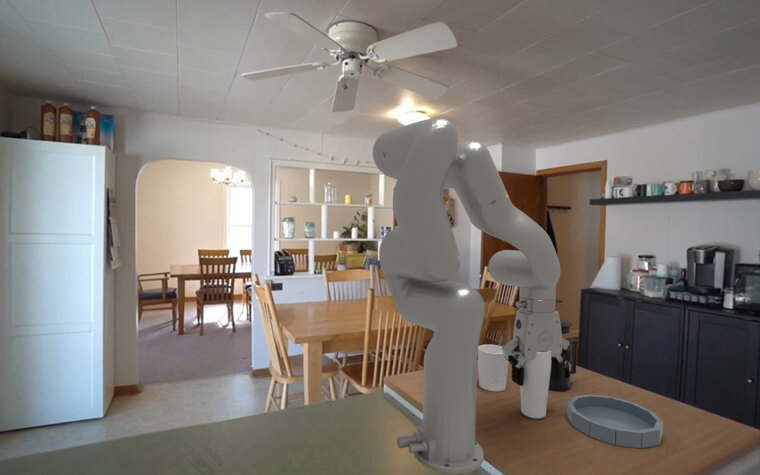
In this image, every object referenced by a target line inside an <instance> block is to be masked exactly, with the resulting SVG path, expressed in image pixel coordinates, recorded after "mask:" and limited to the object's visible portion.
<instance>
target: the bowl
mask: <svg viewBox="0 0 760 475" xmlns="http://www.w3.org/2000/svg"><path fill="white" fill-rule="evenodd" d="M566 404H567V406H566V408H567V409H566V417H567V419H568V421H569V422H570V424H571V426H572V427H574V429H577V430H578V431H580V433H583V434H584V435H587V437H590V438H593V439H595V440H598V441H601V442H604V443H607V444H610V445H612V446H616V447H625V448H633V449H646V448H653V447H656V446H660V444H661V441H662V439H663V436H664V435H663V432H664V431H663V430H664V421H663V419H661V418H660V417H659V416H658V415H657V414H656V412H654V411H652V410H650V409H649V408H646V407H644V406H641V405H639V404H638V403H635V402H633V401H629V400H626V399H622V398H618V397H614V396H610V395H609V396H608V395H598V394H583V395H574V396H573V397H572V398H570V399H569V400H568V402H567V403H566Z"/></svg>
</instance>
